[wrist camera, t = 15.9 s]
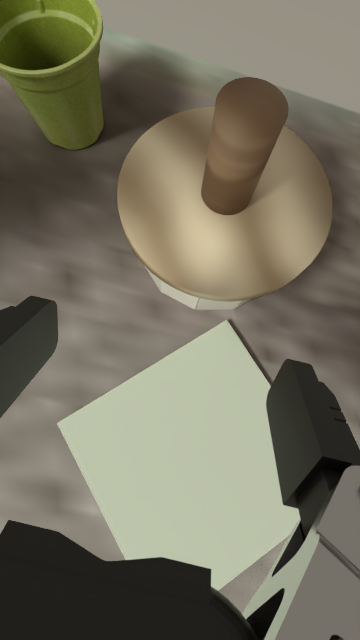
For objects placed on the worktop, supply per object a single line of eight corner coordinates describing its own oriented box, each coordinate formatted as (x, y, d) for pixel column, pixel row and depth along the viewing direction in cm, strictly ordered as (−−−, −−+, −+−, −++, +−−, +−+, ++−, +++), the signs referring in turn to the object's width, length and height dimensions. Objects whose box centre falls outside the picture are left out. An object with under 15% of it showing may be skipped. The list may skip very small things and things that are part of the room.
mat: (162, 627, 20) (162, 633, 19) (59, 422, 23) (56, 423, 22) (338, 491, 22) (342, 493, 22) (225, 321, 25) (226, 319, 25)
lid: (191, 343, 19) (207, 314, 11) (82, 171, 21) (37, 57, 14) (364, 235, 21) (470, 154, 14) (247, 93, 23) (283, -40, 16)
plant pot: (135, 146, 29) (122, 46, 21) (46, 179, 28) (-7, 88, 19) (99, 79, 31) (73, -37, 22) (13, 108, 29) (-48, -5, 21)
